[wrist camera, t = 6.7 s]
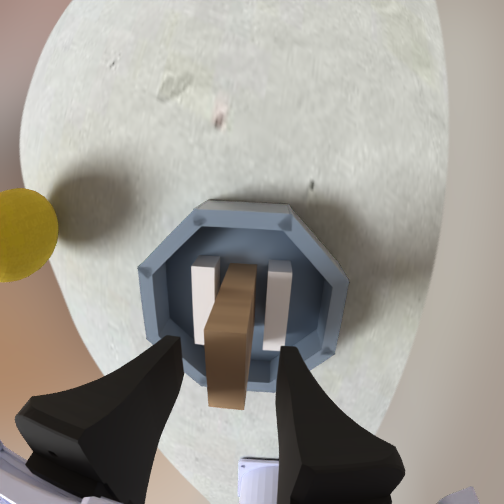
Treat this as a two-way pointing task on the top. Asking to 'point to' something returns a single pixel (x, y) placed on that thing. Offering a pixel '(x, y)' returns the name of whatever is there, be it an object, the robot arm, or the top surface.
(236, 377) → the brown wooden plank
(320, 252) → the octagonal blue tray
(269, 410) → the top surface
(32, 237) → the lemon
